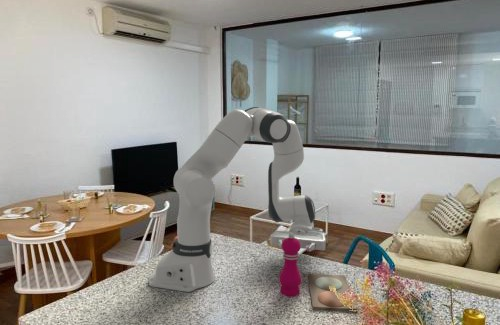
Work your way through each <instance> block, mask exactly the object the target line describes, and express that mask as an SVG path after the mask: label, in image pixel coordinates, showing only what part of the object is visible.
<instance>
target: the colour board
mask: <svg viewBox="0 0 500 325" xmlns="http://www.w3.org/2000/svg"><path fill="white" fill-rule="evenodd" d="M306 277H307V281H308V282H307V283H308V289H309V296H310V301H311V307H312V308H311V309H312V311H326V312H327V311H328V312H330V311H331V312H345V311H349V310H352V309H350V308H347V307H345V306H344V305H343V304H341V302H340V301H339V299H338V298H337V296H336V295H335V292H333V291H330V289H329V286H335V288H336V291H337V293H340V294H343V293H345V291H346V290H347V289H350V286H349V285H350V284H349V283H348V281H347V278H346V275H345V274H344V275H343V274H342V275H340V274H321V273H307V276H306ZM350 290H351V289H350ZM353 310H357V311H358V308H354V309H353Z"/></svg>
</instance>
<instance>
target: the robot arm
mask: <svg viewBox="0 0 500 325" xmlns="http://www.w3.org/2000/svg"><path fill="white" fill-rule="evenodd" d="M251 137H253V138H254V139H257V140H259V141H263V142H266V143H269V144H272V148H273V149H272V150H273V153H274V156H273V160H272V161H271V162H270V163H269V166H268V173H267V174H268V175H267V182H268V184H267V185H268V188H267V189H268V190H267V191H268V192H267V193H268V206H267V214H268V217H269V218H270V219H271V220H272V221H273V222H275V223H279V222H280V223H281V222H287V221H288V222H289V221H293V222H292V224H291V226H290V228H289V230H288V231H287V230H275V231H273V232H272V233H271V234H270V236H269V243H270V245H271V246H277V247H279V249H281V250H283V249H282V242H283V240H284V239H286V238H288V237H289V234H290V233H293V234H294V238H296V239H298V240H299V242H300V245H301V248H300V249H306V252H309V253H310V252H312V251H314V250H315V251H325V250H326V243H327V242H326V240H327V239H326V235H325V234H324V230H323V229H322V228H319V227H315V224H314V221H315V218H316V208H315V204H314V201H313V199H312V198H311V197H310V196H308V195H306V194H301V195H293V196H280V181H279V180H281V179H282V178H283V177H285V176H287V175H288V174H290V173H292V172H295V171H296V170H297V169H299V168H300V166H301V165H302V163H303V162H304V159H305V153H304V145H303V141H302V136H301V134H300V130H299V128H298V125H297V123H296V122H295V121H293V120H291V119H287V117H286V116H284V115H283V114H282V113H280V112H277V111H273V110H271V109H269V108H264V107H259V106H254V107H253V106H252V107H249V108H247V109H245V110H242V109H239V108H234V109H232V110H230V111H229V112H228V113H227V114H226V115H225V116H224V117H223V118H221V120H220V121H219V122H218V123H217V124H216V126H215V127H214V129H213V130H212V131H211V132H210V134H209V135H208V136H207V138H206V139H205V140H204V142H203V143H202V145H201V146H199V148H198V149H197V150H196V151H195V153H193V154H192V155H191V156H190V157H189V158H188V160H187V161H186V162H184V163H183V164H182V166H181V167H180V168H178V169H177V170H176V171H175V174H174V176H173V188H174V190H175V191H176V192H177V193H178V197H179V202H178V203H179V205H178V213H177V218H176V226H177V229H176V231H177V232H176V233H177V236H175V237H174V238H173V241H172V242H171V246H170V248H171V251H169V252H168V253H166V254H165V255H164V256H162V257H161V259H159V261H158V262H157V263H156V264H157V265H156V268H155V270H154V271H153V272H152V273H151V275H150V276H149V278H148V285H149V286H150V287H153V288H161V289H166V290H173V291H179V292H186V293H190V292H193V291H195V290H196V289H201V288H204V287H207V286H209V285H211V284H212V283H213V282H214V281H215V279H216V276H215V273H214V269H213V268H214V267H213V264H212V253H213V250H212V249H213V248H212V247H213V246H212V245H213V244H212V239H211V214H212V208H213V207H212V206H213V200H214V198H215V195H216V187H215V184H214V181H213V179H214V177H216V175H218V174H219V173H220V172H221V171H222V170H223V169H226V168H227V167H228V165H229V164H230V163H231V161H232V160H233V159H234V157H235V156H236V154H237V153H238V152H239V150H240V149H241V148H242V146H243V145H244V143H245V142H246V141H247V139H249V138H251Z"/></svg>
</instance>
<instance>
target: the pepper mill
mask: <svg viewBox="0 0 500 325" xmlns="http://www.w3.org/2000/svg"><path fill="white" fill-rule="evenodd" d="M301 249H302V248H301V245H300V242H299V240H298V239H296V238H294V234H293V233H290V234H289V237H288V238H286V239H284V240H283V242H282V249H281V250H282V251H283V252H282V258H284V263H283V264H284V265H283V267H282V269H281V271H280V272H279V273H280V274H279V277H278V281H279V283H280V287H279V288H280V290H279V292H280V293H281V295H283V296H284V297H289V298H295V297H298V296H299V295H300V292H301V291H300V290H301V289H300V288H301V287H300V286H301V284H302V276H301V273H300V272H301V271H300V270H299V268H298V262H297V261H298V259H299V256H300V255H299V253H300V252H299V251H300V250H301Z"/></svg>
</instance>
